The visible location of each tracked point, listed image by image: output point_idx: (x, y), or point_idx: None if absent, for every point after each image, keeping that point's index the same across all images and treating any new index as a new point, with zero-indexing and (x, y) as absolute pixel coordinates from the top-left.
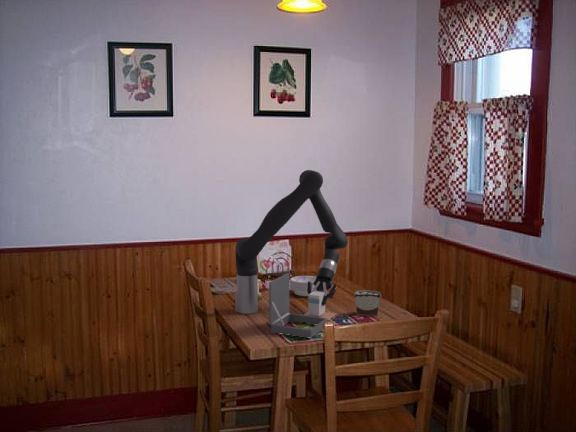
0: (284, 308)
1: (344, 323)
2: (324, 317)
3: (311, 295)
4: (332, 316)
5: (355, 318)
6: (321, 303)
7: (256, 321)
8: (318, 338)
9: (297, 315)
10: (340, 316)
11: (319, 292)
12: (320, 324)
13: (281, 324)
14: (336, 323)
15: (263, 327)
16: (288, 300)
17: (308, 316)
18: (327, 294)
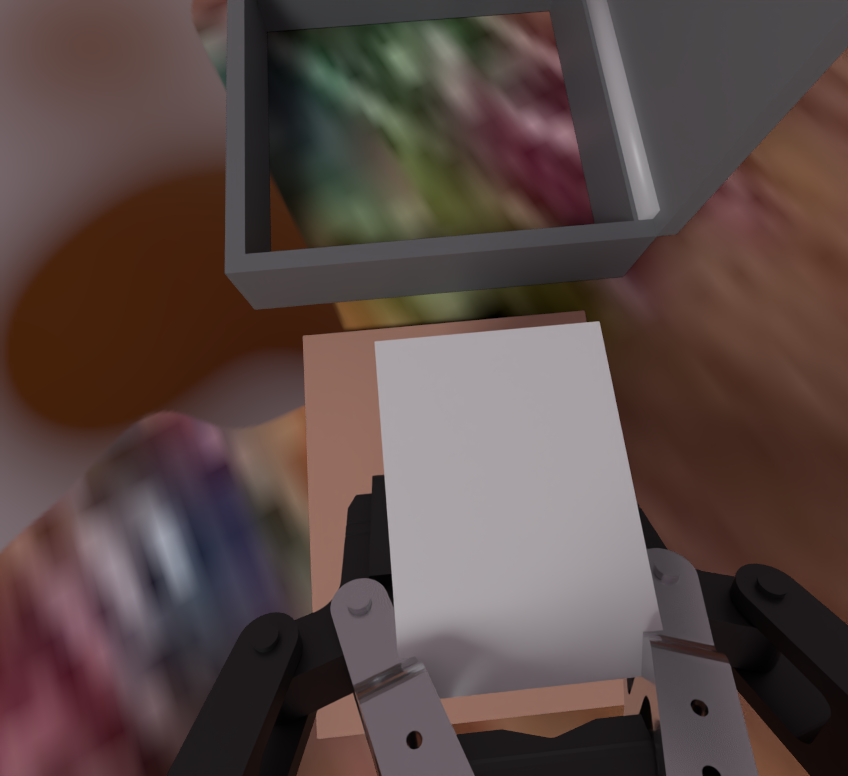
0: (672, 66)
1: (139, 470)
2: None
3: (534, 330)
4: (320, 597)
5: (76, 702)
6: None
7: (835, 145)
8: (211, 56)
9: (550, 230)
10: None
11: (492, 576)
12: (229, 122)
13: (579, 94)
14: (211, 431)
15: None
16: (746, 101)
17: (429, 238)
18: (332, 650)
